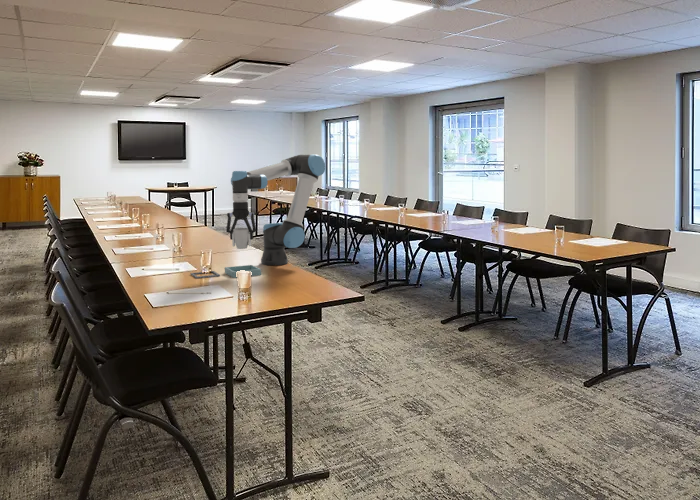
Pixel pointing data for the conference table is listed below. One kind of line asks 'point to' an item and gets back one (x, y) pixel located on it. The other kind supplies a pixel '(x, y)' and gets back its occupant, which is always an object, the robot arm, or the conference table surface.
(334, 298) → the conference table surface
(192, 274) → the grey flat square frame
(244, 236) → the cup
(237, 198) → the robot arm
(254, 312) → the conference table surface
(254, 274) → the bin
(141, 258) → the conference table surface
